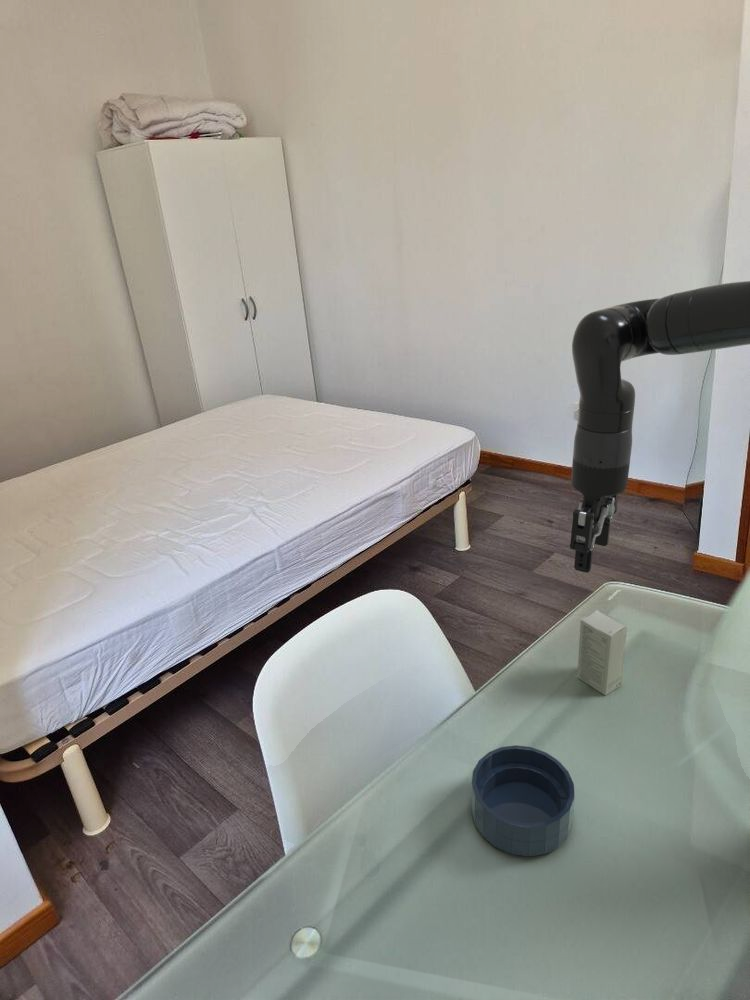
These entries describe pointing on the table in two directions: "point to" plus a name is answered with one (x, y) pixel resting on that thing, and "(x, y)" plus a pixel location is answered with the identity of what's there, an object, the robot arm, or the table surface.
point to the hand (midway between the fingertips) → (591, 556)
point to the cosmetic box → (601, 651)
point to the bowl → (522, 800)
